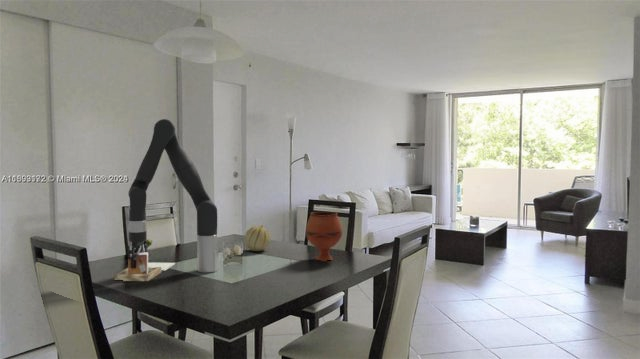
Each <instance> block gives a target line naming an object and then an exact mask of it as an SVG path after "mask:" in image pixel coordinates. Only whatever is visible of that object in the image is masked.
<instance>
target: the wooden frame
mask: <svg viewBox="0 0 640 359" xmlns="http://www.w3.org/2000/svg"><path fill="white" fill-rule="evenodd" d="M161 273H162V271H161V267H148V274H146V275H135V274H128V267H127V268H125V269H123V270H122V271H120V272H117V273H115V274H114V275H113V281H114V280H123V281H122V282H149V281H150V280H152V279H154V278H155V277H156V276H158V275H160V274H161Z"/></svg>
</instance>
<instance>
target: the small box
mask: <svg viewBox="0 0 640 359" xmlns="http://www.w3.org/2000/svg"><path fill="white" fill-rule="evenodd" d="M148 254H149V252H148V251H147V252H143V253H139V255H138V256H137V258H136V268H135V269H133V268H131V260H129V259H128V258H127V262H128V264H127V268H128V274H135V275H146V274H148V263H149V255H148ZM130 256H131V254H130ZM134 257H135V256H134Z"/></svg>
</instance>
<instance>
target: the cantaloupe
mask: <svg viewBox="0 0 640 359" xmlns="http://www.w3.org/2000/svg"><path fill="white" fill-rule="evenodd" d="M243 240H244V241H243V242H244V245H245V246H246V247H247V249H249V250H250V251H253V252H262V251H263V250H265V249H267V248H268V246H269V244H270V241H271V235H270V231H268V229H266V228H265V227H264V225H263V224H262V225H253V226H252V227H250V228H249V229H248V230H247V231H246V232H245V234H244V238H243Z"/></svg>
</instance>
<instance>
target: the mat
mask: <svg viewBox="0 0 640 359" xmlns="http://www.w3.org/2000/svg"><path fill="white" fill-rule="evenodd" d="M175 265H176V262H148V267H161V272H165V271H166V270H168V269H170V268H171V267H173V266H175Z"/></svg>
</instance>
